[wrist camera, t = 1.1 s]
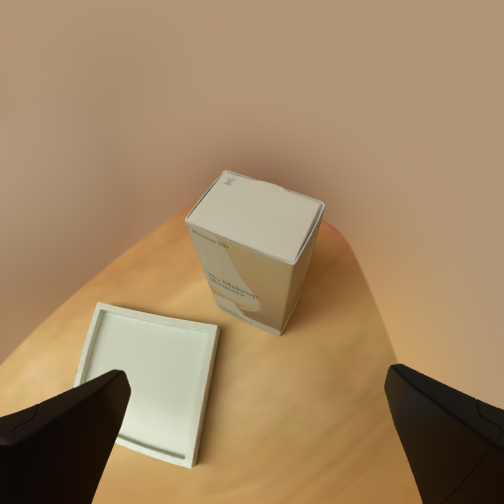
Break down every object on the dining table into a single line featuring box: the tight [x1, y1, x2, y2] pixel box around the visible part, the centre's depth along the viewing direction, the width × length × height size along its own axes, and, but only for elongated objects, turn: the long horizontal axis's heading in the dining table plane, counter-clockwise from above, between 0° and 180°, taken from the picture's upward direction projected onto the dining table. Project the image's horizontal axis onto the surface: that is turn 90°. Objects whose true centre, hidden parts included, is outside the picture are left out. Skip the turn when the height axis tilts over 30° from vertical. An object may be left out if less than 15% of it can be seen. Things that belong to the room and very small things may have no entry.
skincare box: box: [185, 171, 325, 336], centre depth 19 cm, size 6×4×12 cm
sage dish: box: [74, 302, 221, 468], centre depth 20 cm, size 12×12×2 cm
